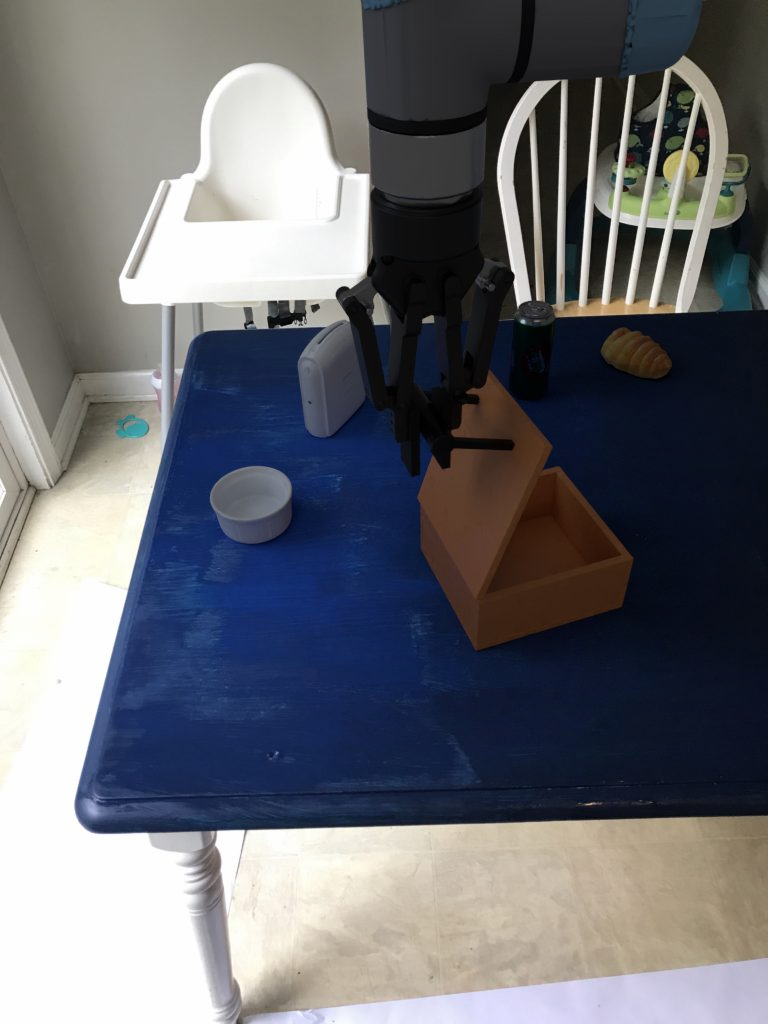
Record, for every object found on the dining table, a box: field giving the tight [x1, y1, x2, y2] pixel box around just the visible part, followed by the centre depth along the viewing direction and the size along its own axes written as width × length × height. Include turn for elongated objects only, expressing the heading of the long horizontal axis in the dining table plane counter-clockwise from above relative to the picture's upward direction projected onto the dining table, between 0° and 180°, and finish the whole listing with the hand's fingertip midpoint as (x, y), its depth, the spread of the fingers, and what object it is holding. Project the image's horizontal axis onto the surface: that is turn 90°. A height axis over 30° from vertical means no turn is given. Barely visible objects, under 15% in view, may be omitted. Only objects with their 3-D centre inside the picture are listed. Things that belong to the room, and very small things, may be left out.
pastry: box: [600, 327, 673, 380], centre depth 112 cm, size 9×7×4 cm
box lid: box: [412, 368, 554, 600], centre depth 72 cm, size 16×15×8 cm
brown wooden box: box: [419, 465, 634, 652], centre depth 83 cm, size 16×15×7 cm
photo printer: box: [297, 319, 367, 439], centre depth 103 cm, size 10×4×12 cm, turn 151°
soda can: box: [508, 299, 557, 400], centre depth 106 cm, size 5×5×12 cm
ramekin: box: [209, 465, 293, 545], centre depth 91 cm, size 9×9×4 cm
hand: (425, 462), depth 71 cm, fingers closed on box lid, 2 cm apart
